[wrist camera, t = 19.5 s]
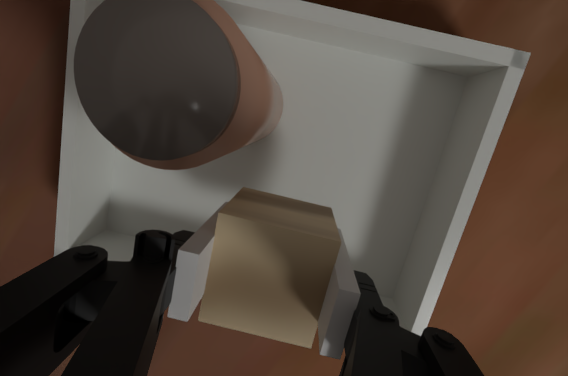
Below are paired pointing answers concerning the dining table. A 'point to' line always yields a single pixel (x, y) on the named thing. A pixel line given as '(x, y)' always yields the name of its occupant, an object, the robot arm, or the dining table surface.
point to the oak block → (270, 266)
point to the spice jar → (173, 82)
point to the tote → (320, 145)
